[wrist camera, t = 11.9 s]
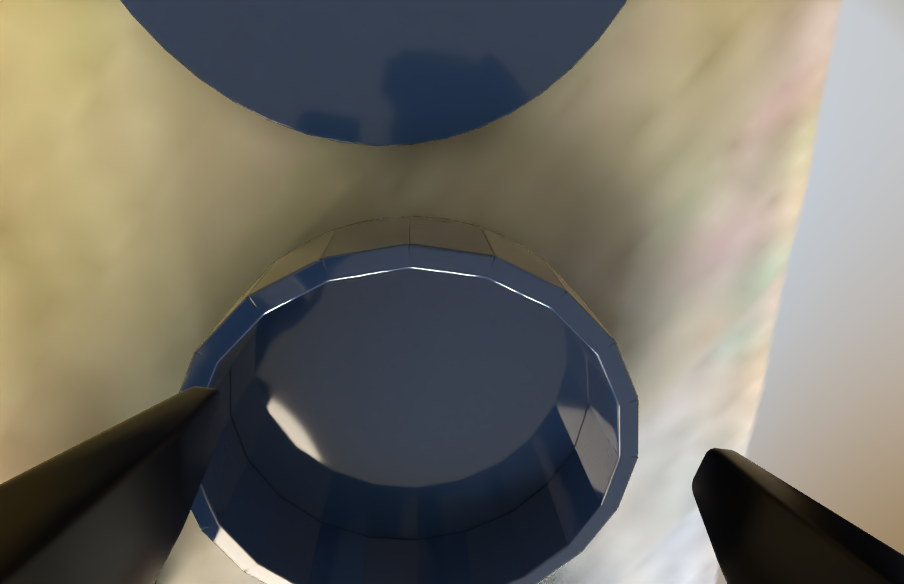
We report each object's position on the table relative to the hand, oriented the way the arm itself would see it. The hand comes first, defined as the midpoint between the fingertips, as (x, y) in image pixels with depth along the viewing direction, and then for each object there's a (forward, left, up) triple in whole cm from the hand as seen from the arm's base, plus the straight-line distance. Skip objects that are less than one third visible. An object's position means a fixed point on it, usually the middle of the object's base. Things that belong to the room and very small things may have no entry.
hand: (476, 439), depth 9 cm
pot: (0, -7, -11) cm, 13 cm away
